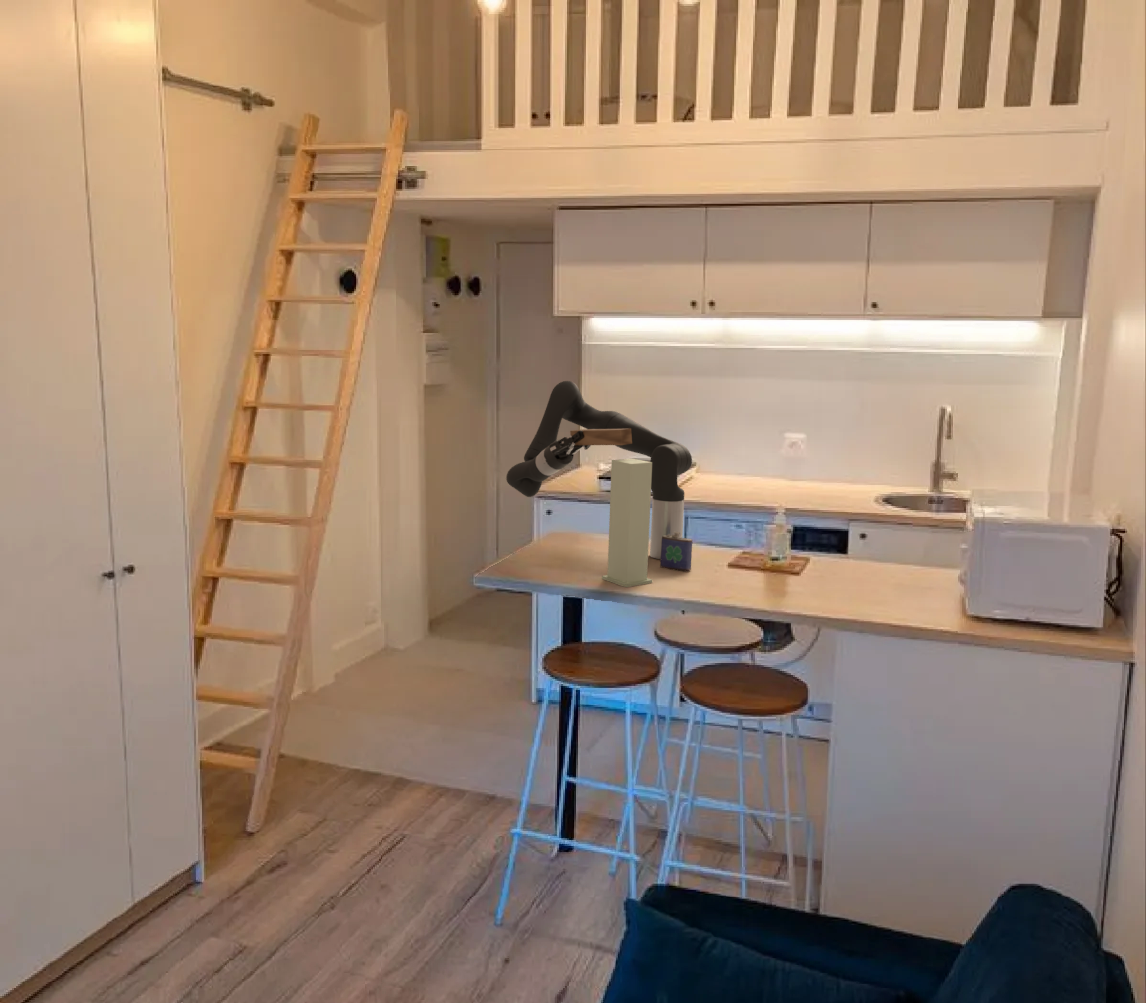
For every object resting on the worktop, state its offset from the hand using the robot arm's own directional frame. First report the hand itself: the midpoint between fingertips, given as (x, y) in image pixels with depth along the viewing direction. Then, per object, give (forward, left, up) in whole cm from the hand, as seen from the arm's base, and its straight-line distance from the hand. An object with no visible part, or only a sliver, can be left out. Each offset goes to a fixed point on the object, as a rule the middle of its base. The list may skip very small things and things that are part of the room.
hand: (588, 432), depth 278 cm
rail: (+2, +5, -3) cm, 6 cm away
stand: (+10, +16, -37) cm, 42 cm away
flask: (-9, +24, -38) cm, 46 cm away
